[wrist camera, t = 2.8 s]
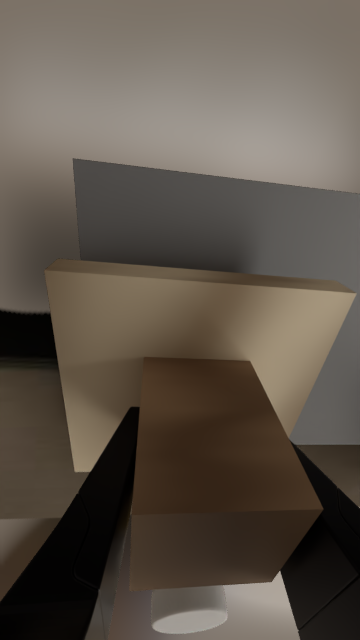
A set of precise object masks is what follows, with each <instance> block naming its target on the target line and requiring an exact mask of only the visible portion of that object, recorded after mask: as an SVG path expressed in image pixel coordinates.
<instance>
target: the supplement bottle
mask: <svg viewBox="0 0 360 640" xmlns="http://www.w3.org/2000/svg"><path fill="white" fill-rule="evenodd" d="M152 592H153V593H152V596H151V600H152V601H151V602H152V614H151V615H152V617H151V618H152V619H151V622H152V623H151V624H152V627H153V629H154V630H156V631H159V632H162V633H172V634H184V633H193V632H199V631H203V630H208V629H211V628H214V627H216V626H218V625H220V624H222V623H224V622H225V621H226V620H227V617H228V612H227V605H226V598H225V592H224V587H223V585H218V586H202V587H187V588H171V589H156V590H152Z"/></svg>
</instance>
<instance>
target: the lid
mask: <svg viewBox="0 0 360 640" xmlns="http://www.w3.org/2000/svg"><path fill="white" fill-rule="evenodd" d="M44 272H45V279H46V285H47V292H48V299H49V305H50V312H51V319H52V325H53V332H54V338H55V345H56V351H57V358H58V365H59V371H60V378H61V384H62V391H63V397H64V404H65V410H66V417H67V423H68V430H69V437H70V443H71V450H72V456H73V463H74V469H75V472H91V470H92V468H93V467H94V465H95V463H96V462H97V460H98V459H99V457H100V455H101V454H102V452H103V450H104V449H105V447H106V445H107V444H108V442H109V440H110V439H111V437H112V436H113V434H114V432H115V431H116V429H117V427H118V426H119V424H120V422H121V421H122V419H123V417H124V416H125V414H126V413H127V411H128V409H129V408H130V407H132V406H138V407H140V413H139V426H138V439H137V451H136V464H135V477H134V490H133V503H132V518H131V519H132V520H131V552H130V553H131V554H130V585H129V586H130V587H129V591H140V590H156V589H171V588H187V587H202V586H218V585H232V584H248V583H264V582H272V581H273V579H274V578H275V576H276V575H277V574H278V572H279V571H280V569H281V568H282V567H283V565H284V564H285V562H286V561H287V560H288V558H289V557H290V555H291V554H292V553H293V551H294V550H295V548H296V547H297V546H298V544H299V543H300V541H301V540H302V539H303V537H304V536H305V534H306V533H307V532H308V530H309V529H310V527H311V526H312V525H313V523H314V522H315V520H316V519H317V518H318V516H319V515H320V513H321V512H322V511H323V507H322V505H321V503H320V501H319V499H318V497H317V495H316V493H315V491H314V489H313V487H312V485H311V483H310V481H309V479H308V477H307V475H306V473H305V471H304V469H303V467H302V464H301V462H300V460H299V458H298V456H297V454H296V452H295V450H294V448H293V446H292V444H291V442H290V440H289V436H290V434H291V432H292V430H293V428H294V426H295V424H296V422H297V419H298V417H299V415H300V413H301V411H302V409H303V407H304V405H305V402H306V400H307V398H308V396H309V394H310V392H311V390H312V388H313V385H314V383H315V381H316V379H317V377H318V375H319V373H320V371H321V368H322V366H323V364H324V362H325V360H326V358H327V356H328V354H329V351H330V349H331V347H332V345H333V343H334V341H335V339H336V337H337V334H338V332H339V330H340V328H341V326H342V324H343V322H344V320H345V317H346V315H347V313H348V311H349V309H350V307H351V305H352V303H353V300H354V298H355V296H356V294H357V293H355V292H354V291H352V290H350V289H349V288H347V287H345V286H344V285H342V284H340V283H339V282H337V281H334V280H321V279H309V278H296V277H283V276H271V275H258V274H246V273H233V272H220V271H208V270H195V269H183V268H170V267H157V266H145V265H132V264H120V263H107V262H95V261H82V260H69V259H57V260H56V261H54V262H53V263H52V264H51V265H50V266H49V267H47V268H46V269H45V270H44Z"/></svg>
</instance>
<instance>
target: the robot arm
mask: <svg viewBox="0 0 360 640" xmlns="http://www.w3.org/2000/svg"><path fill="white" fill-rule="evenodd" d="M139 413H140V407H138V406H132V407H130V408H129V409H128V411H127V413H126V414H125V416H124V417H123V419H122V421H121V422H120V424H119V426H118V427H117V429H116V431H115V432H114V434H113V436H112V437H111V439H110V440H109V442H108V444H107V445H106V447H105V449H104V450H103V452H102V454H101V455H100V457H99V459H98V460H97V462H96V463H95V465H94V467H93V468H92V470H91V472H90V473H89V475H88V477H87V478H86V480H85V481H84V483H83V485H82V486H81V488H80V490H79V492H78V493H79V494H76V496H75V498H74V499H73V501H72V503H71V504H70V506H69V507H68V509H67V511H66V512H65V514H64V515H63V517H62V518H61V520H60V521H59V523H58V525H57V526H56V527H55V529H54V530H53V531H52V533H51V534H50V536H49V537H48V539H47V540H46V541H45V543H44V544H43V545H42V547H41V548H40V549H39V551H38V552H37V553H36V555H35V556H34V557H33V559H32V560H31V562H30V563H29V564H28V566H27V567H26V568H25V570H24V571H23V572H22V573H21V575H20V576H19V577H18V579H17V580H16V582H15V583H14V584H13V586H12V587H11V588H10V590H9V591H8V592H7V594H6V595H5V596H4V598H3V599H2V600H1V601H0V640H108V634H109V628H110V623H111V617H112V612H113V606H114V600H115V595H116V589H117V584H118V578H119V572H120V567H121V561H122V556H123V550H124V545H125V539H126V533H127V528H128V522H129V517H130V511H131V505H132V500H133V490H134V477H135V464H136V451H137V439H138V426H139ZM289 440H290V439H289ZM290 442H291V444H292V446H293V448H294V450H295V452H296V454H297V456H298V458H299V460H300V462H301V464H302V467H303V469H304V471H305V473H306V475H307V477H308V479H309V481H310V483H311V485H312V487H313V489H314V491H315V493H316V495H317V497H318V499H319V501H320V503H321V505H322V507H323V511H322V512H321V513H320V515H319V516H318V518H317V519H316V520H315V522H314V523H313V525H312V526H311V527H310V529H309V530H308V532H307V533H306V534H305V536H304V537H303V539H302V540H301V541H300V543H299V544H298V546H297V547H296V548H295V550H294V551H293V553H292V554H291V555H290V557H289V558H288V560H287V561H286V562H285V564H284V565H283V567H282V568H281V569H280V571H281V575H282V578H283V582H284V585H285V588H286V592H287V595H288V598H289V602H290V606H291V609H292V612H293V616H294V619H295V622H296V626H297V629H298V630H299V631H298V633H299V636H300V640H360V508H359V507H358V506H357V505H356V504H355V503H354V502H353V501H351V500H350V499H349V498H348V497H347V496H346V495H345V494H344V493H343V492H342V491H341V490H340V489H339V488H337V486H336V485H335V484H334V483H333V482H332V481H331V480H330V479H329V478H328V477H327V476H326V475H325V474H324V473H323V472H322V471H321V470H320V469H319V468H318V467H317V466H316V465H315V464H314V463H313V462H312V461H311V460H310V459H309V458H308V457H307V456H306V455H305V454H304V453H303V452H302V451H301V450H300V449H299V448H298V447H297V446H296V445H295V444H294V443H293V442H292V441H291V440H290Z"/></svg>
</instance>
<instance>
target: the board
mask: <svg viewBox="0 0 360 640" xmlns="http://www.w3.org/2000/svg"><path fill="white" fill-rule="evenodd" d="M73 169H74V181H75V194H76V206H77V217H78V218H77V219H78V230H79V243H80V255H81V260H82V261H95V262H107V263H120V264H132V265H145V266H157V267H170V268H183V269H195V270H208V271H220V272H233V273H246V274H258V275H271V276H283V277H296V278H309V279H321V280H334V281H337V282H339V283H340V284H342V285H344V286H345V287H347V288H349V289H350V290H352V291H354V292H355V293H357V294H356V296H355V298H354V300H353V303H352V305H351V307H350V309H349V311H348V313H347V315H346V317H345V320H344V322H343V324H342V326H341V328H340V330H339V332H338V334H337V337H336V339H335V341H334V343H333V345H332V347H331V349H330V351H329V354H328V356H327V358H326V360H325V362H324V364H323V366H322V368H321V371H320V373H319V375H318V377H317V379H316V381H315V383H314V385H313V388H312V390H311V392H310V394H309V396H308V398H307V400H306V402H305V405H304V407H303V409H302V411H301V413H300V415H299V417H298V419H297V422H296V424H295V426H294V428H293V430H292V432H291V434H290V436H289V439H290V440H291V441H292V442H293V443H294V444H295V445H360V194H357V193H349V192H341V191H333V190H325V189H316V188H308V187H300V186H292V185H283V184H276V183H268V182H260V181H252V180H244V179H235V178H227V177H219V176H211V175H202V174H195V173H187V172H178V171H170V170H162V169H154V168H146V167H138V166H130V165H122V164H114V163H106V162H98V161H90V160H81V159H73Z"/></svg>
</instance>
